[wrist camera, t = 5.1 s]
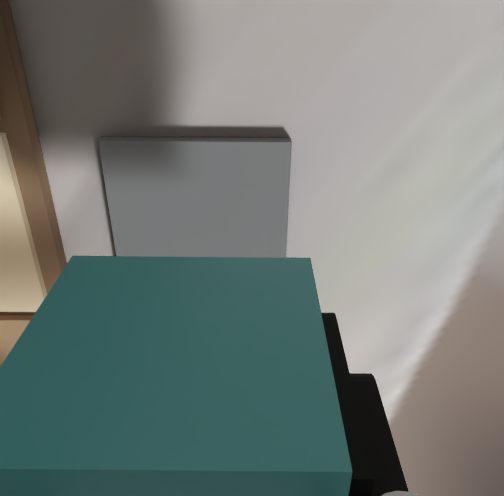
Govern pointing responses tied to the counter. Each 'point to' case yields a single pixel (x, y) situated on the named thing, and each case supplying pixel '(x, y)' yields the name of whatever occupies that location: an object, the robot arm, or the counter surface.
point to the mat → (197, 195)
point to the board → (22, 200)
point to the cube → (174, 383)
